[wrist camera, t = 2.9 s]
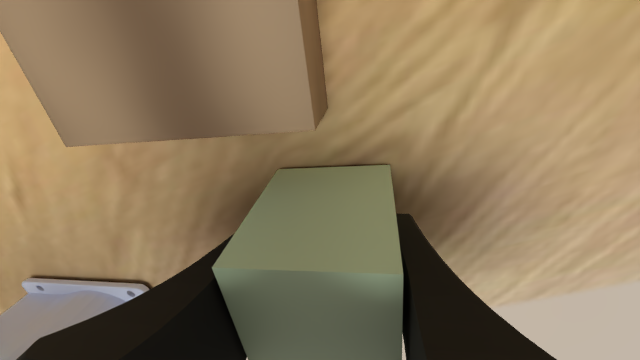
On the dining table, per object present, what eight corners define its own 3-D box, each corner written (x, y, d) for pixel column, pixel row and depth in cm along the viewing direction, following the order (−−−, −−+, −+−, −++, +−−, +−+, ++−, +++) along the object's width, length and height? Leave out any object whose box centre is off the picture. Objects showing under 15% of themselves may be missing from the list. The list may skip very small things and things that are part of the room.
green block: (295, 252, 14) (253, 373, 9) (277, 169, 12) (211, 267, 7) (390, 254, 13) (401, 389, 8) (390, 164, 11) (403, 274, 6)
